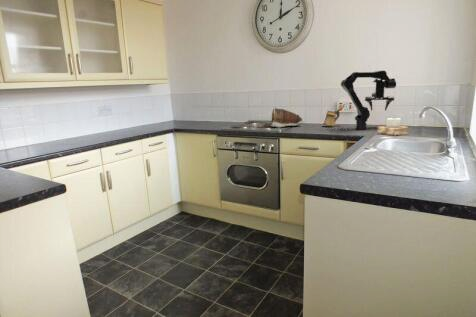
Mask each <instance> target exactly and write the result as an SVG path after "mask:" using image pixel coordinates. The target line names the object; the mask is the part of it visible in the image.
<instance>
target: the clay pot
mask: <svg viewBox="0 0 476 317" xmlns="http://www.w3.org/2000/svg"><path fill="white" fill-rule="evenodd" d="M270 121H271V122H270V127H272V128H279V129H280V128H283V127H294V126H295V127H296V126H297V125H299V124H301V123H303V121H304V120H303V118H302V117H301V116H300V115H299V114H296V113H295V112H292V111H289V110H286V109H283V108H275V107H273V109H272V111H271V120H270Z"/></svg>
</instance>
